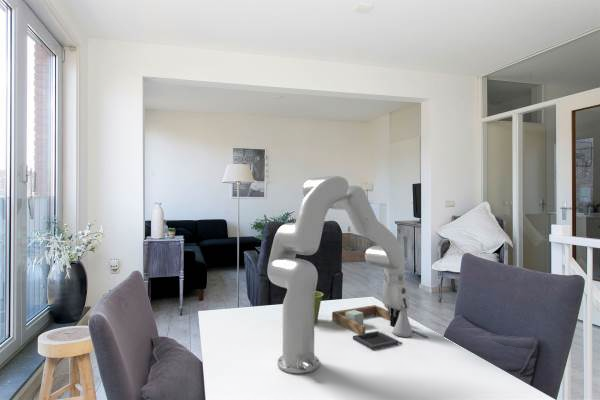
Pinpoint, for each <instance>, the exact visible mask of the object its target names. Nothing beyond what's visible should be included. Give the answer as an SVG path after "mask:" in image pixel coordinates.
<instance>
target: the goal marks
mask: <svg viewBox="0 0 600 400" xmlns="http://www.w3.org/2000/svg"><path fill="white" fill-rule="evenodd" d="M380 332H381V333H383V334H385V335H387V334H386V333H384V332H382V331H380ZM412 332H413V334H416V335H419V336H420V337H424V338H426V339H428V338H429V335H426V334H424V333H422V332H419V331H416V330H415V329H412ZM387 336H389V337H391V338H393V339H395V340H397V341H398V345H402V344H403V341H400V340H398V339H396V338H394V337H392V336H390V335H387Z"/></svg>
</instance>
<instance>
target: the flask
mask: <svg viewBox="0 0 600 400" xmlns="http://www.w3.org/2000/svg"><path fill="white" fill-rule="evenodd" d="M408 310H409V308H408V307H406V306H405V308H401V310H400V313H399V317H398V320H397V322H396V325H395V327H393V330H392V332H391V333H392V334H394V335H396V336H398V337H403V338H409V337H412V336H413V334H414V332H412V330H413V329H412V326H411V323H410V320H409V317H408V316H409V315H408Z"/></svg>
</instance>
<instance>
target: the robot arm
mask: <svg viewBox="0 0 600 400" xmlns="http://www.w3.org/2000/svg"><path fill="white" fill-rule="evenodd" d="M302 194H303V196H304V198H303V200H301V203H300V206H299V209H298V212H297V217H296V220H295V222H287V223H283V224H282V225H281V226H280V227H279V228H278V229H277V231H276V233H275V234H274V238H273V242H272V245H271V250H270V254H269V258H268V263H267V277H268V279H269V281H270V282H271V283H272V284H274V285H275V286H277V287H280V288H284V289H286V293H285V297H284V298H283V302H282V355H281V356H279V358H278V359H277V367H278V368H279V370H281V371H283V372H286V373H290V374H307V373H311V372H313V371H315V370H317V369H318V368H319V366H320V358H318V357H317V356H316V355H315V323H314V300H315V291H317V290H316V289H317V284H318V280H319V278H318V277H319V276H318V275H319V274H318V273H319V272H318V271H317V268H316V266H315V265H314V264H313V263H312V262H310V261H308V260H306V259H304V258H303V259H302V258H297V257H296V255H301V256H302V255H303V256H312V255H314V254H316V253H317V252H318V250H319V247H320V244H321V239H322V233H323V229H324V225H325V219H326V217H327V214H328V211H329V210H330V209H331V210H338V211H339V210H345V211H346V213H347V215H348V217H349V219H350V220H349V221H350V222H351V223H352V226H353V228H354V230H355V231H356V233H358V234H359V235H361V236H362V237H364V238H367V239H368V240H371V241H373V242H374V243H375V244H377V245H374V246H370V247H369V248H367V249H366V250H365V253H364V260H365V261H366V263H367V264H368V265H370V266H371V267H377V268H382V269H383V273H384V274H383V275H384V277H383V283H382V295H381V297H382V304H383V306H384V307H383V308H385V309H386V310H388V311H389V315H391V316H390V321H389V323H390V325H389V326H390V327H393V328H394V327H395V325H396V322H397V320H398V317H399V313H400V310H401V308H405V306H406V307H408V309H409V306H410V305H409V304H410V301H409V291H408V290H409V289H408V286H407V282H406V277H405V274H406V273H405V268H406V267H405V247H404V246H403V245H401V244H400V242H399V240H398V238H397V237H396V236H395V234H394V233H393V232H391V231H390V230H389V229H388V227H386V226H385V225H384V224H382V223H381V222H380V221H379V219H378V217H377V216H376V213H375V212H374V211H375V210H373V206H372V205H371V203H370V200H369V198H368V196H367V194H366V192H365V190H364V189H363V187H361V186H359V185H349V181H348V180H347V179H346V178H345V177H343V176H339V175H331V176H321V177H310V178H309V179H307V180H306V181H305V182H304V184H303V187H302Z"/></svg>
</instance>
